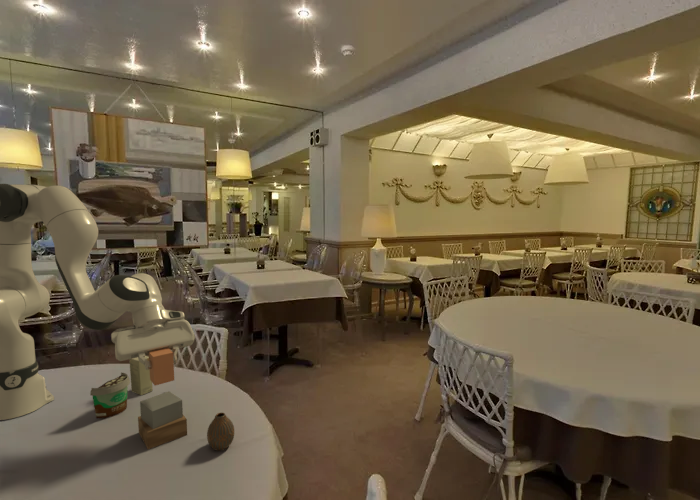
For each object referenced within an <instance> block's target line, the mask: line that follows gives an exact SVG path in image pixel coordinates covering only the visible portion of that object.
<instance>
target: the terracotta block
mask: <svg viewBox="0 0 700 500" xmlns="http://www.w3.org/2000/svg"><path fill="white" fill-rule="evenodd" d="M173 355H174V353H173V352H172V350H170V349H169V348H164V349H159V350H154V351H150V352H149V355H148V357H149V361H151V362H152V363H151V364H152V369H150V380H151V381H152V385H153V386H155V387H156V386H158V385H163V384H167V383H170V382H173V381H175V366H174V365H175V363H174V362H173Z"/></svg>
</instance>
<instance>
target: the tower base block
mask: <svg viewBox="0 0 700 500" xmlns="http://www.w3.org/2000/svg"><path fill="white" fill-rule="evenodd" d="M137 425H138V434H139V436H140V438H141V440H142V441H143V443H144V445H145V447H146V448H147V450H150V449H153V448H157V447H159V446H161V445H164V444H167V443H169V442H172V441H175V440H177V439H180V438H183V437H185V436H188V419H187V417H186V416H185V415H184V414H183V417H182V418H179V419H177V420H174V421H172V422H170V423H167V424H165V425H162V426H160V427H158V428H155V429H152V428H151V427H150V426H149V425H148V424H147V423H145V422H144V421H143V420H142V419H141V415H139V416H137Z"/></svg>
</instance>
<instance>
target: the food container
mask: <svg viewBox="0 0 700 500" xmlns="http://www.w3.org/2000/svg"><path fill="white" fill-rule="evenodd" d="M129 385H131V378H130V376H128V374H127V373H126V372H121V373H120V375H119V376H117V377H115V378H114V379H110V380H108V381H106V382H104V383H103V384H102V385H100V386H98V387H91V390H90V393H89V394H90V396H92V400H93V401H92V402H93V406H94V408H93V409H94V413H95V418H96V419H107V418H108V419H109V418H112V417H114V416H118V415H120V414H122V413H123V412H125V411H126V410H127V408H128V387H129Z"/></svg>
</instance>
